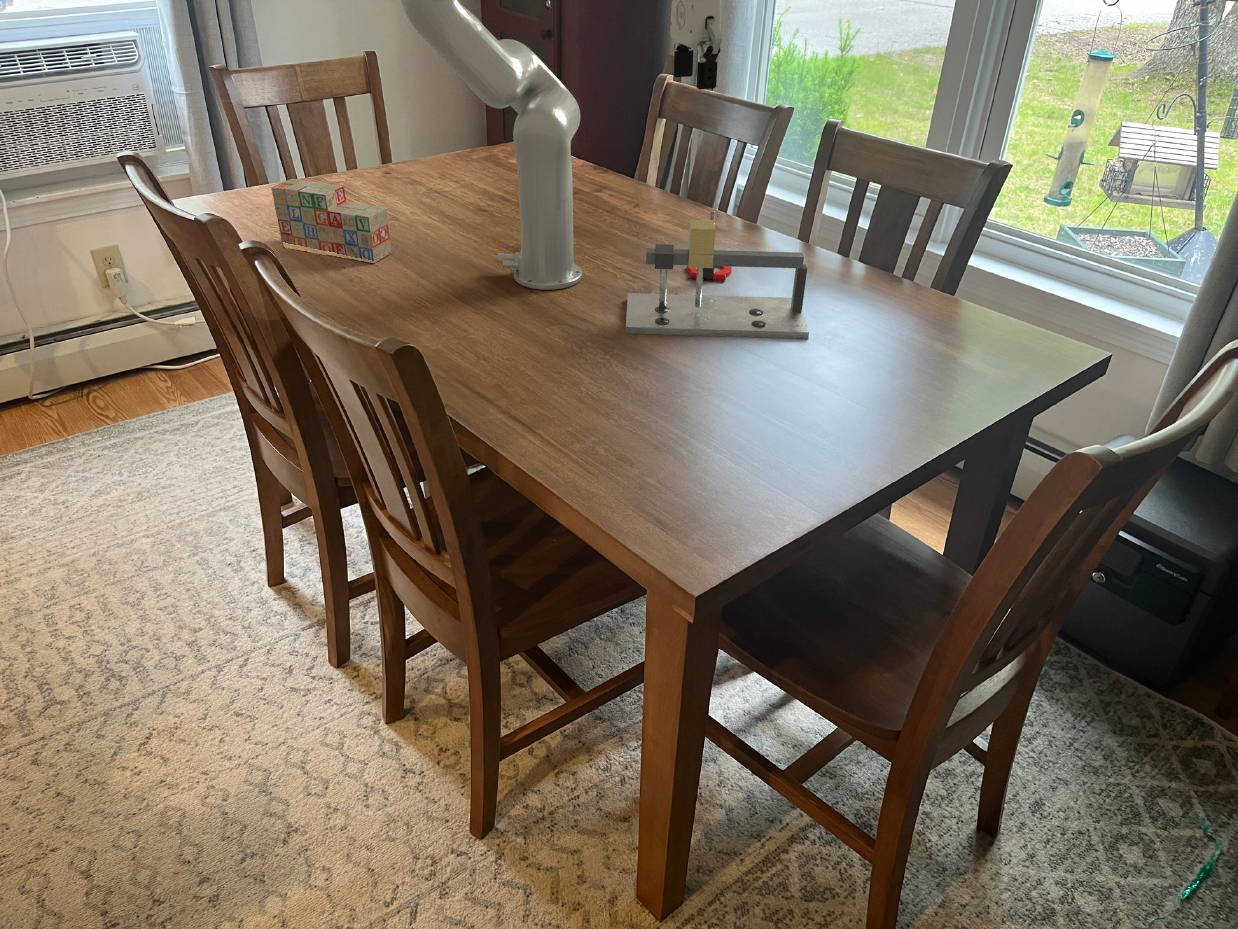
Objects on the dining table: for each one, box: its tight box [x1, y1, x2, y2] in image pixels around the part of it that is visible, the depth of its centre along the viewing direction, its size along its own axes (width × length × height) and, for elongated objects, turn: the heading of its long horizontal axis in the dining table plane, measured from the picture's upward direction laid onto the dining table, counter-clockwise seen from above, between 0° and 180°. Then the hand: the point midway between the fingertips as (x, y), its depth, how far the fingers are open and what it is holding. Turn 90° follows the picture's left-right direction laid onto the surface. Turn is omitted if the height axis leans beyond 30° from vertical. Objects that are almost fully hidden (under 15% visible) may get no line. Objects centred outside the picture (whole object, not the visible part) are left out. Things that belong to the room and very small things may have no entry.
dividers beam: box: [645, 243, 808, 312], centre depth 161 cm, size 27×5×10 cm, turn 88°
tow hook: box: [686, 210, 733, 282], centre depth 177 cm, size 8×13×9 cm
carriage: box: [687, 219, 716, 307], centre depth 160 cm, size 4×4×14 cm
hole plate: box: [625, 292, 810, 340], centre depth 162 cm, size 30×14×1 cm, turn 88°
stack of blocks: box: [270, 178, 392, 261], centre depth 183 cm, size 21×6×12 cm, turn 68°
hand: (694, 82), depth 155 cm, fingers open, 9 cm apart
